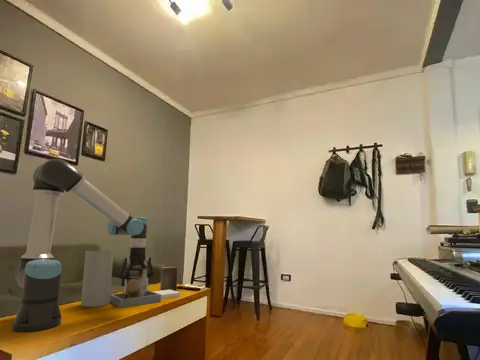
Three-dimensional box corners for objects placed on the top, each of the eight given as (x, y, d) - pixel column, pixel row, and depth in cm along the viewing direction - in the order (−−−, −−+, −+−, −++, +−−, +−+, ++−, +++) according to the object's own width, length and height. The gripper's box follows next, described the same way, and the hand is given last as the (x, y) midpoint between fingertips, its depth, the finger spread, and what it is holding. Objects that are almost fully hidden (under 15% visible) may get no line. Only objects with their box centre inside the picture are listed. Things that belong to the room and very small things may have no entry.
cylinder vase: (111, 301, 154) (114, 250, 159) (107, 306, 143) (111, 251, 147) (84, 302, 151) (88, 250, 156) (78, 308, 139) (83, 252, 144)
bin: (120, 307, 141) (120, 299, 141) (109, 301, 153) (109, 294, 153) (160, 301, 153) (160, 294, 154) (147, 296, 165) (148, 289, 166)
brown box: (178, 291, 182) (179, 265, 185) (162, 292, 177) (164, 265, 180) (173, 288, 190) (174, 263, 193) (157, 290, 185) (159, 264, 188)
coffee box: (122, 302, 150) (125, 268, 153) (128, 299, 156) (130, 267, 159) (140, 302, 149) (142, 268, 152) (145, 299, 155) (147, 267, 158)
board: (159, 299, 159) (159, 295, 159) (149, 295, 168) (150, 291, 168) (179, 296, 166) (180, 292, 167) (169, 293, 175) (169, 289, 176)
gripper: (117, 247, 148) (114, 295, 144) (161, 246, 162) (159, 290, 158) (113, 247, 153) (109, 293, 149) (155, 246, 168) (153, 288, 164)
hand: (135, 291), depth 154 cm, fingers closed on coffee box, 10 cm apart
